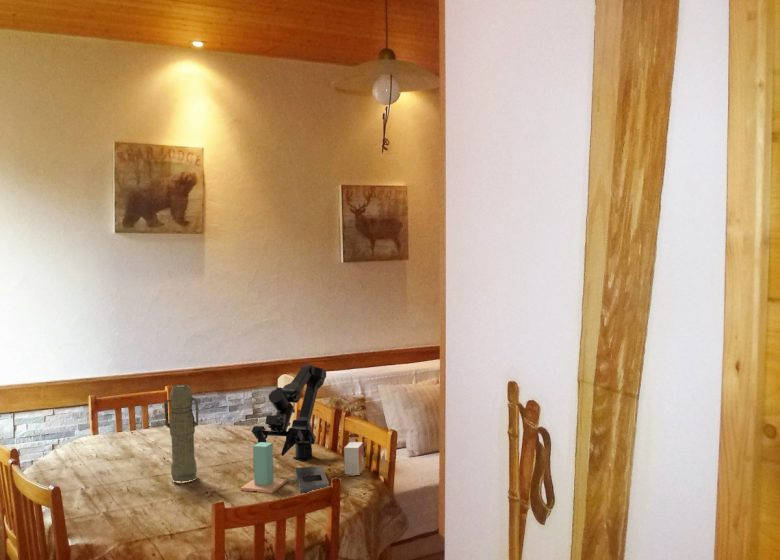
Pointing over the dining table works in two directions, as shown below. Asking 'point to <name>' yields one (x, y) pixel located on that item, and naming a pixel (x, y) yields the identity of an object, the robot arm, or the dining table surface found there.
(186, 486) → the dining table surface
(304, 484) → the grey slotted board
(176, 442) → the thermos
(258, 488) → the tile
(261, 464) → the peg
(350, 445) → the small box
